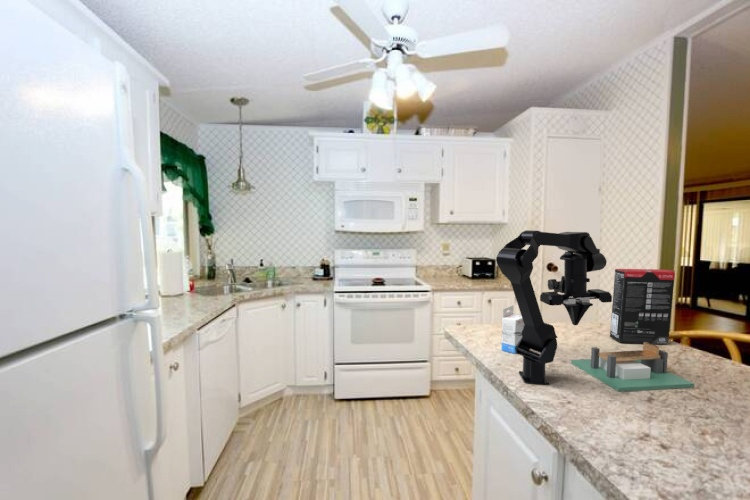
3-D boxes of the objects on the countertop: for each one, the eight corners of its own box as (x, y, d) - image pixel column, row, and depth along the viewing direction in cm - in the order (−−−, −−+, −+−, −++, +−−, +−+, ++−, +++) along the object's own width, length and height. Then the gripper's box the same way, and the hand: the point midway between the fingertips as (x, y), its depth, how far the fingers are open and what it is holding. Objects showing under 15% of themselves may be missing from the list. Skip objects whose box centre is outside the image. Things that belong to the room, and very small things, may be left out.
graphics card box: (657, 339, 126) (661, 268, 124) (671, 345, 119) (676, 270, 117) (609, 337, 128) (612, 267, 125) (620, 344, 121) (624, 270, 119)
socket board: (618, 391, 86) (619, 365, 86) (571, 363, 104) (572, 341, 104) (694, 387, 89) (696, 361, 88) (635, 360, 106) (636, 338, 106)
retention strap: (608, 361, 93) (609, 349, 93) (597, 355, 97) (598, 344, 97) (660, 358, 95) (661, 346, 95) (647, 353, 99) (648, 341, 99)
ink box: (515, 354, 112) (516, 311, 110) (500, 350, 115) (502, 308, 114) (525, 348, 117) (526, 307, 116) (511, 344, 121) (512, 304, 120)
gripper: (587, 268, 107) (587, 315, 108) (530, 271, 106) (531, 318, 108) (613, 274, 96) (612, 326, 97) (550, 277, 95) (550, 330, 97)
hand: (574, 324), depth 100 cm, fingers closed
